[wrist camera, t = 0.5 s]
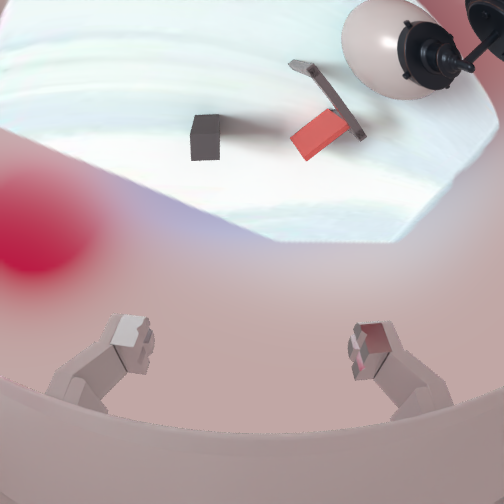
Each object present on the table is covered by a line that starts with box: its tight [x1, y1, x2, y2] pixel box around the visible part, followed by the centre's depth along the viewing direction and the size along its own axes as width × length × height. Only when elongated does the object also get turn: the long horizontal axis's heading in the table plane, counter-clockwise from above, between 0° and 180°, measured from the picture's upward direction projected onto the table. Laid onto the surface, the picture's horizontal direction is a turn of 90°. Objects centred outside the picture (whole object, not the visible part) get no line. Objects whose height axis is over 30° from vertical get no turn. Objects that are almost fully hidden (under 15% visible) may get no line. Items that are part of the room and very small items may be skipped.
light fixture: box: [341, 0, 504, 100], centre depth 28 cm, size 20×23×33 cm
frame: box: [288, 60, 367, 142], centre depth 43 cm, size 16×2×12 cm, turn 42°
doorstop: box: [190, 114, 220, 161], centre depth 46 cm, size 4×4×12 cm
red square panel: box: [290, 109, 349, 161], centre depth 48 cm, size 10×1×10 cm, turn 132°
